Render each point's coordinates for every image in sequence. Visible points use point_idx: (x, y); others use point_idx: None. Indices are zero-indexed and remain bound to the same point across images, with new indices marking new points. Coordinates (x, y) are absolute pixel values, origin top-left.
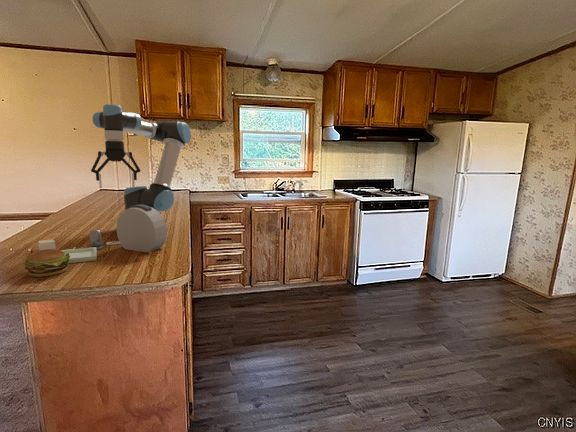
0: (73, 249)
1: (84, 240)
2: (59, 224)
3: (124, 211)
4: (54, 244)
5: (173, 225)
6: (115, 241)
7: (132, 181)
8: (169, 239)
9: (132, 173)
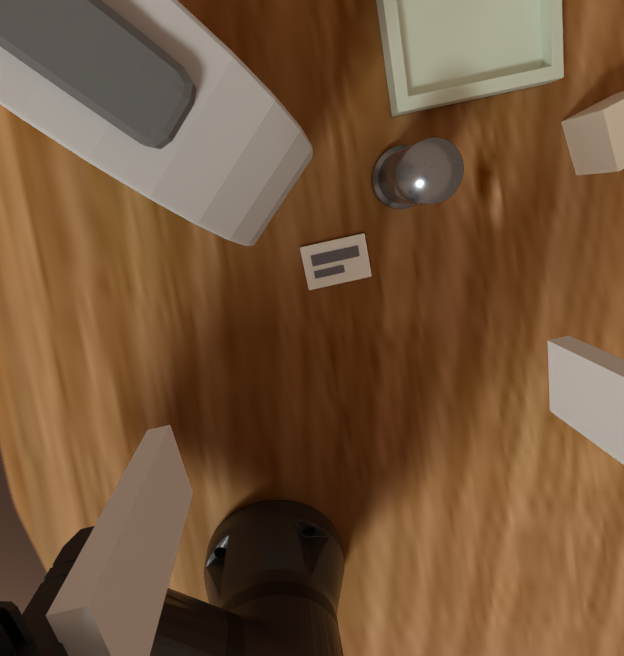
0: (497, 82)
1: (473, 337)
2: (602, 621)
3: (236, 57)
4: (595, 112)
5: None
6: (331, 284)
7: (151, 492)
8: (61, 299)
9: (91, 641)
